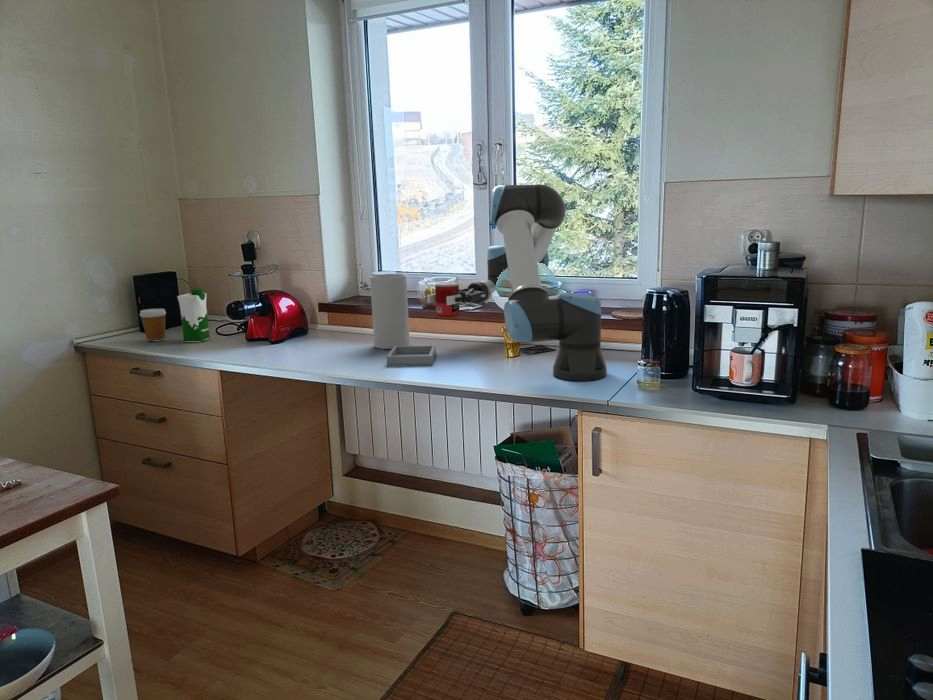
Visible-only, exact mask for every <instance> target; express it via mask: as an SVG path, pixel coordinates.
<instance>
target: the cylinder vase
mask: <svg viewBox="0 0 933 700" xmlns="http://www.w3.org/2000/svg"><path fill="white" fill-rule="evenodd" d="M369 281H370V300H371V314H372V315H371V316H372V332H373V335H372V336H373V346H374V347H375V348H376V349H378V348H379V350H384V349H392V348H393V347H394V346H410V327H409V326H410V325H409V322H410V321H409V306H408V305H409V303H408V282H407V281H408V280H407V274H403V273H402V274H401V273H387V274H386V273H385V274H376V275H375V274H374V275H370V276H369Z"/></svg>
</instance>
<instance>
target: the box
mask: <svg viewBox="0 0 933 700" xmlns="http://www.w3.org/2000/svg"><path fill="white" fill-rule="evenodd" d="M436 356H437V345H435V344H430V345H426V344H425V345H408V346H394V347H393V348H392V350H390V352H389V353H388V354H387V355H386V366H387V367H396V366H395V365H419V366H433V364H432V363H434V361H435V359H434V358H436ZM389 365H391V366H389ZM392 365H394V366H392Z"/></svg>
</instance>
